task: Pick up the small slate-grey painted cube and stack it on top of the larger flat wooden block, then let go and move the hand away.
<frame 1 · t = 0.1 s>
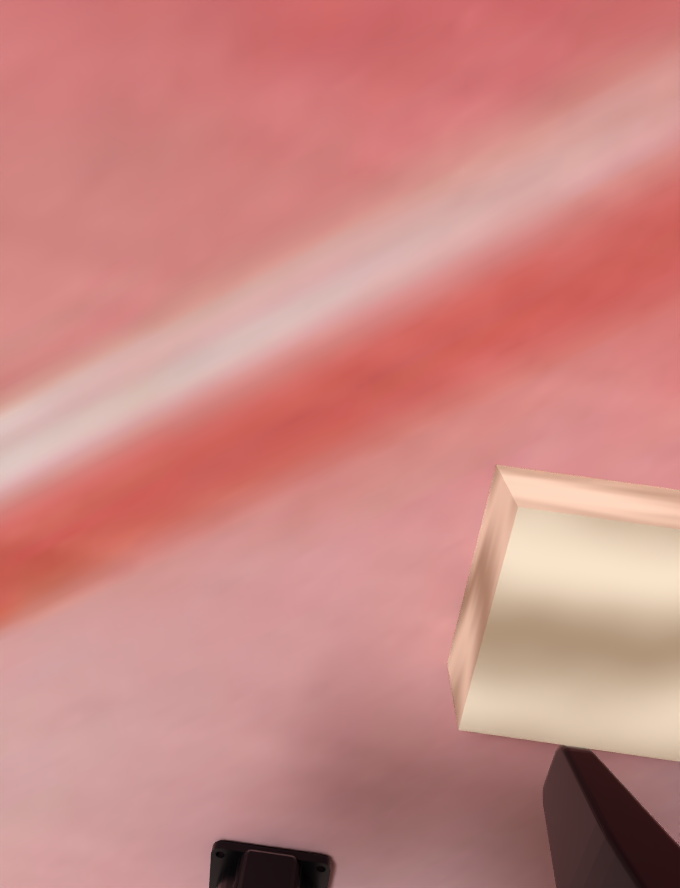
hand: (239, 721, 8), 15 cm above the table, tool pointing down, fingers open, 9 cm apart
flat wooden block: (583, 583, 24), on the table
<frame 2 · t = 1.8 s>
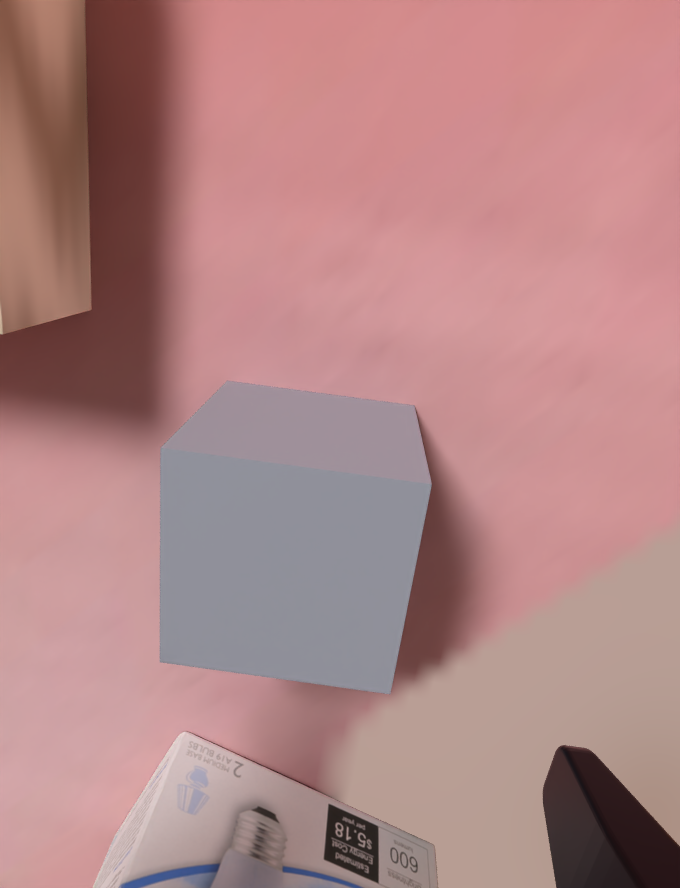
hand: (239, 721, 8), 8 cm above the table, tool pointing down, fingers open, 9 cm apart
slate cube: (311, 477, 16), on the table
light bulb box: (272, 831, 21), on the table
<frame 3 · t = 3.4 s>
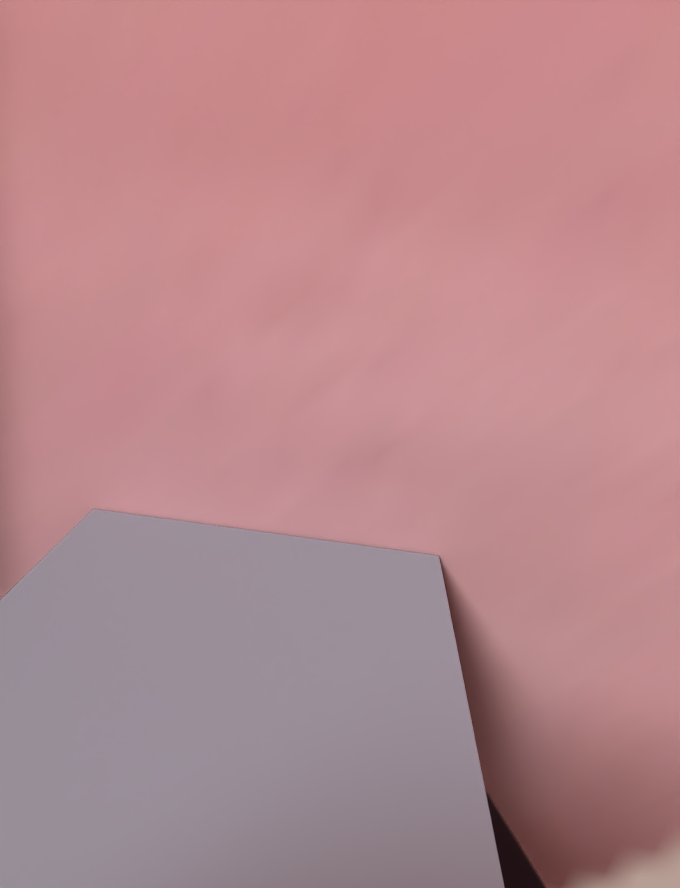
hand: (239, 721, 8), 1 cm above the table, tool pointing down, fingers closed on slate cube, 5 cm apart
slate cube: (254, 668, 9), on the table, touching gripper
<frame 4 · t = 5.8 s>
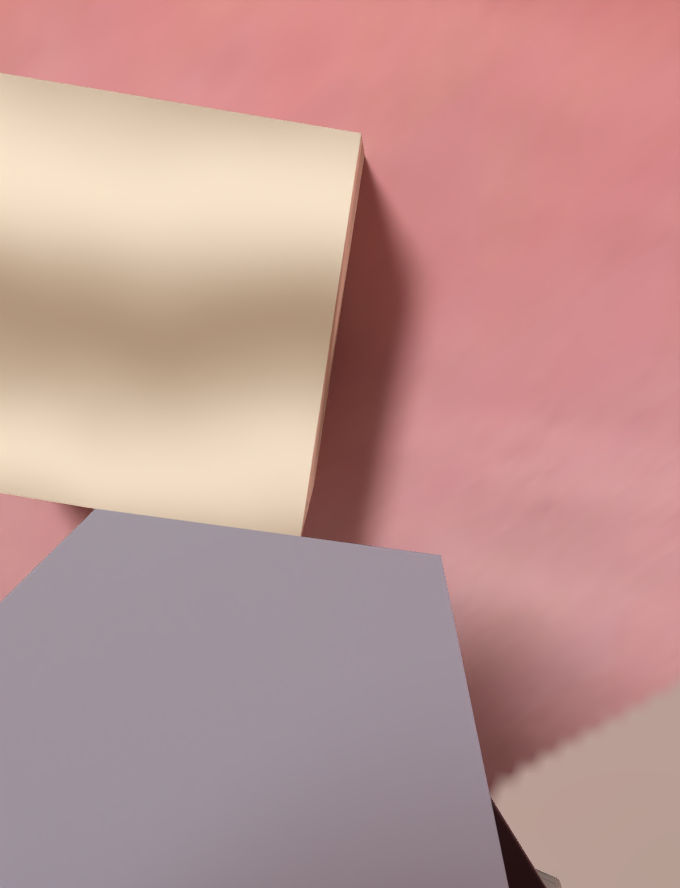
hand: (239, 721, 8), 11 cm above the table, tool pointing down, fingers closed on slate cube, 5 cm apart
slate cube: (256, 668, 9), point 10 cm above the table, touching gripper
flat wooden block: (177, 309, 17), on the table
when the fingers open (6 cm above the table, at t = 8.1 s): slate cube drops 2 cm, resting on flat wooden block.
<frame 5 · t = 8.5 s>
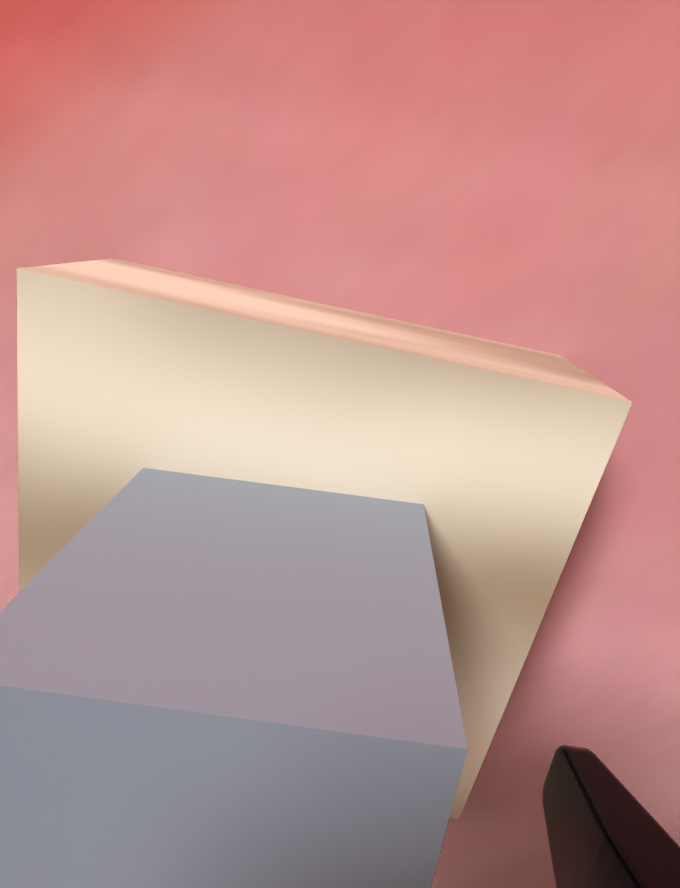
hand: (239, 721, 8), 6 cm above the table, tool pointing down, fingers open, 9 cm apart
slate cube: (272, 602, 11), point 4 cm above the table, touching flat wooden block
flat wooden block: (302, 498, 14), on the table, touching slate cube
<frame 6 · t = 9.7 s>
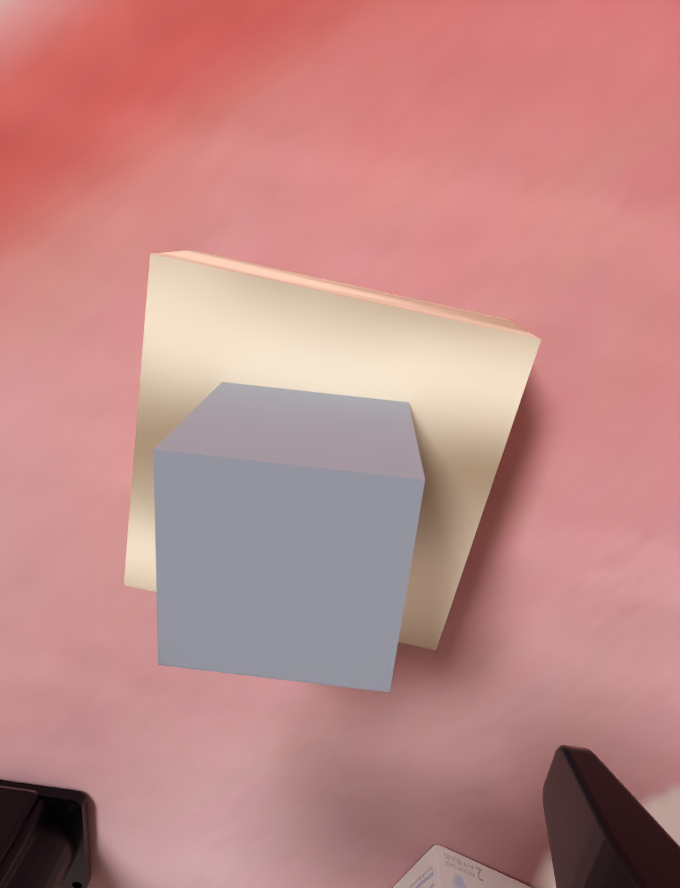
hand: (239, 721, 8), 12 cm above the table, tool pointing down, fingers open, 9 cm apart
slate cube: (307, 477, 16), point 4 cm above the table
flat wooden block: (322, 429, 19), on the table
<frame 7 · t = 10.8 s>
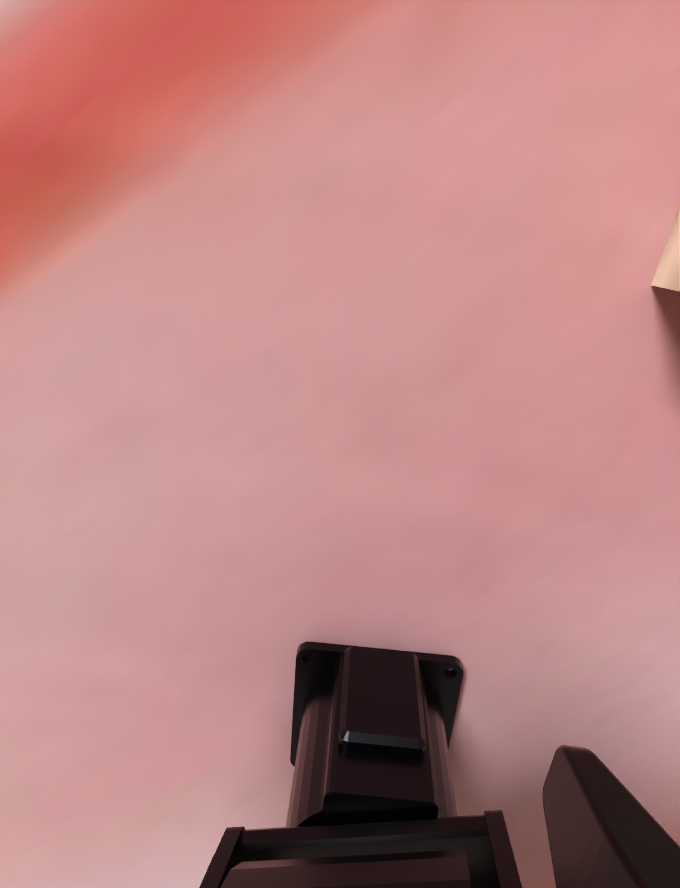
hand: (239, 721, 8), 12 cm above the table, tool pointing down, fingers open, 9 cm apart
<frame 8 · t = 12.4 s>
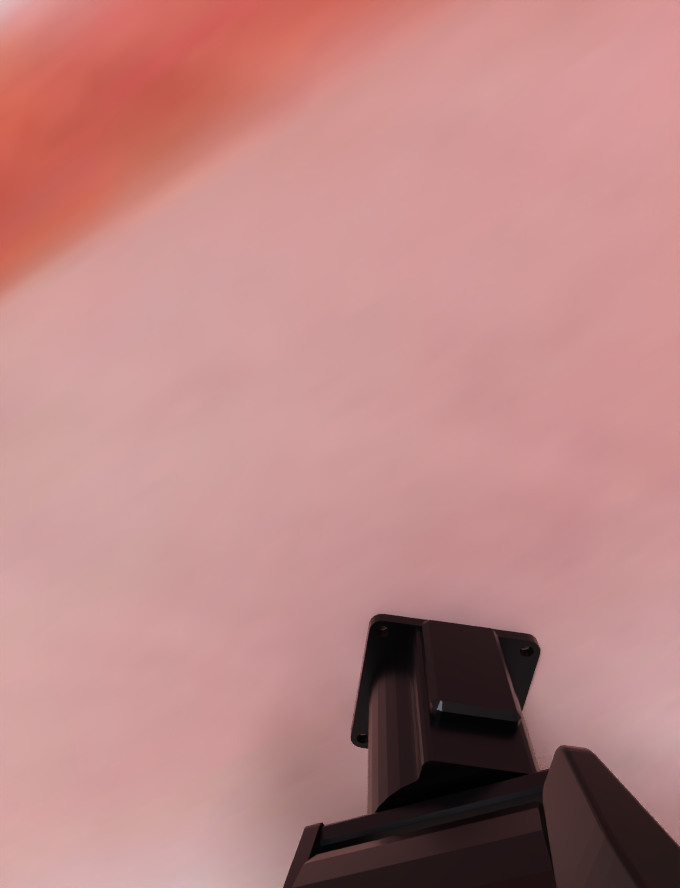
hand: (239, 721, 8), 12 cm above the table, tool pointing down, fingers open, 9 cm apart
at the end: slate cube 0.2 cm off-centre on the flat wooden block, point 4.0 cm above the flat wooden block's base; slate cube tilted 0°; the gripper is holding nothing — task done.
